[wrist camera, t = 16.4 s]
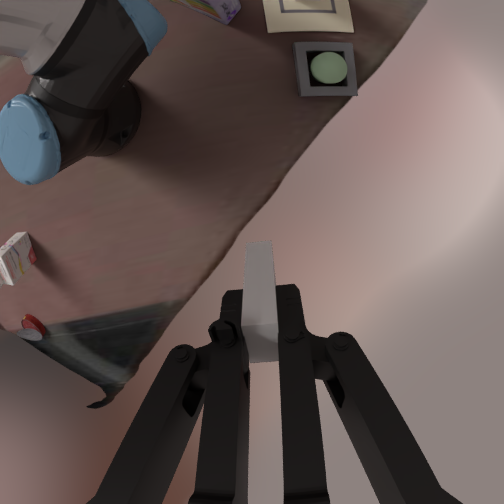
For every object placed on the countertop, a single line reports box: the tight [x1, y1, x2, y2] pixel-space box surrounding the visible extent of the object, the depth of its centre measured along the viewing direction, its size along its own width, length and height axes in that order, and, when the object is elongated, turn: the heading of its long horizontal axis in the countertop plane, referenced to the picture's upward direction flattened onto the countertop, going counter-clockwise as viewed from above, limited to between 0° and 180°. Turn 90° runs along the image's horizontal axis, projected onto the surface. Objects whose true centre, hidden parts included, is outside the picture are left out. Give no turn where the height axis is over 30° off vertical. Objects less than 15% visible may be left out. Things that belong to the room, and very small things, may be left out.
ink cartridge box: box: [0, 232, 37, 288], centre depth 49 cm, size 9×5×15 cm, turn 179°
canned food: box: [17, 314, 46, 340], centre depth 71 cm, size 11×10×10 cm
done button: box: [309, 52, 347, 84], centre depth 34 cm, size 5×5×4 cm
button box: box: [292, 42, 358, 97], centre depth 35 cm, size 9×9×3 cm
